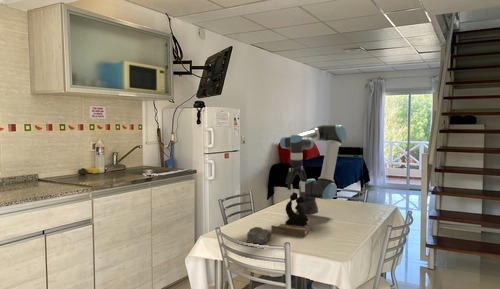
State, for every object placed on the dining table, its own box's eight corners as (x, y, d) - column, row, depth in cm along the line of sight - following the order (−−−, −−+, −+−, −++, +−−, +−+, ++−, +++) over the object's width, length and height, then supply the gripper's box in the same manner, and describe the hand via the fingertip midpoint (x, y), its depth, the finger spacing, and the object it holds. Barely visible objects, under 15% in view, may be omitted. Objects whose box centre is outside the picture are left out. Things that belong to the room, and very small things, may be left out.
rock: (263, 246, 191) (274, 239, 205) (264, 234, 191) (274, 227, 205) (241, 243, 196) (253, 235, 210) (242, 231, 196) (253, 224, 210)
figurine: (283, 224, 232) (283, 193, 231) (289, 221, 239) (289, 190, 238) (305, 227, 225) (305, 194, 224) (310, 223, 233) (309, 192, 232)
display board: (281, 226, 228) (281, 219, 227) (312, 230, 218) (312, 222, 218) (271, 232, 214) (271, 225, 214) (304, 237, 205) (304, 229, 205)
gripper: (302, 157, 242) (302, 190, 243) (279, 160, 223) (279, 195, 224) (312, 158, 237) (312, 191, 238) (289, 161, 218) (289, 196, 219)
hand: (296, 193), depth 231 cm, fingers open, 13 cm apart
